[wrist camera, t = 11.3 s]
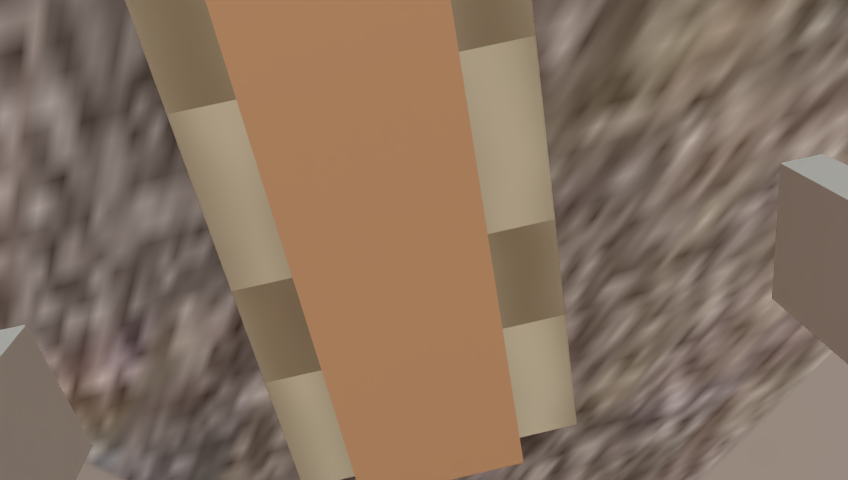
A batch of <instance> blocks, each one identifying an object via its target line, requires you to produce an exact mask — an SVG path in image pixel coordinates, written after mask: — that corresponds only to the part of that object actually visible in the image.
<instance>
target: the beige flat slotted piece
mask: <svg viewBox="0 0 848 480" xmlns="http://www.w3.org/2000/svg"><path fill="white" fill-rule="evenodd" d="M125 2H126V5H127V7H128V10H129V13H130V15H131V18H132V21H133V24H134V26H135V29H136V32H137V35H138V37H139V40H140V43H141V46H142V48H143V51H144V54H145V56H146V59H147V62H148V65H149V67H150V70H151V73H152V76H153V78H154V81H155V84H156V86H157V89H158V92H159V95H160V97H161V100H162V103H163V106H164V108H165V111H166V114H167V116H168V119H169V122H170V125H171V127H172V130H173V133H174V136H175V138H176V141H177V144H178V147H179V149H180V152H181V155H182V157H183V160H184V163H185V166H186V168H187V171H188V174H189V177H190V179H191V182H192V185H193V187H194V190H195V193H196V196H197V198H198V201H199V204H200V207H201V209H202V212H203V215H204V218H205V220H206V223H207V226H208V228H209V231H210V234H211V237H212V239H213V242H214V245H215V248H216V250H217V253H218V256H219V258H220V261H221V264H222V267H223V269H224V272H225V275H226V278H227V280H228V283H229V286H230V289H231V291H232V294H233V297H234V299H235V302H236V305H237V308H238V310H239V313H240V316H241V319H242V321H243V324H244V327H245V329H246V332H247V335H248V338H249V340H250V343H251V346H252V349H253V351H254V354H255V357H256V359H257V362H258V365H259V368H260V370H261V373H262V376H263V379H264V381H265V384H266V387H267V390H268V392H269V395H270V398H271V400H272V403H273V406H274V409H275V411H276V414H277V417H278V420H279V422H280V425H281V428H282V430H283V433H284V436H285V439H286V441H287V444H288V447H289V450H290V452H291V455H292V458H293V461H294V463H295V466H296V469H297V471H298V474H299V477H300V480H341V479H345V478H349V477H354V476H355V475H354V472H353V468H352V465H351V462H350V459H349V456H348V452H347V449H346V446H345V443H344V440H343V437H342V433H341V430H340V427H339V424H338V421H337V418H336V414H335V411H334V408H333V405H332V402H331V398H330V395H329V392H328V389H327V386H326V383H325V379H324V376H323V373H322V370H321V367H320V364H319V360H318V357H317V354H316V351H315V348H314V345H313V341H312V338H311V335H310V332H309V329H308V325H307V322H306V319H305V316H304V313H303V310H302V306H301V303H300V300H299V297H298V294H297V291H296V287H295V284H294V281H293V278H292V275H291V271H290V268H289V265H288V262H287V259H286V256H285V252H284V249H283V246H282V243H281V240H280V237H279V233H278V230H277V227H276V224H275V221H274V218H273V214H272V211H271V208H270V205H269V202H268V198H267V195H266V192H265V189H264V186H263V183H262V179H261V176H260V173H259V170H258V167H257V164H256V160H255V157H254V154H253V151H252V148H251V144H250V141H249V138H248V135H247V132H246V129H245V125H244V122H243V119H242V116H241V113H240V110H239V106H238V103H237V100H236V97H235V94H234V90H233V87H232V84H231V81H230V78H229V75H228V71H227V68H226V65H225V62H224V59H223V56H222V52H221V49H220V46H219V43H218V40H217V37H216V33H215V30H214V27H213V24H212V21H211V17H210V14H209V11H208V8H207V5H206V2H205V0H125ZM451 5H452V11H453V18H454V24H455V30H456V37H457V43H458V50H459V56H460V62H461V69H462V75H463V81H464V88H465V94H466V100H467V107H468V113H469V119H470V126H471V132H472V138H473V145H474V151H475V157H476V164H477V170H478V176H479V183H480V189H481V195H482V202H483V208H484V214H485V221H486V227H487V233H488V240H489V246H490V253H491V259H492V265H493V272H494V278H495V284H496V291H497V297H498V303H499V310H500V316H501V322H502V329H503V335H504V341H505V348H506V354H507V360H508V367H509V373H510V379H511V386H512V392H513V398H514V405H515V411H516V417H517V424H518V430H519V436H520V438H521V437H525V436H529V435H533V434H538V433H542V432H546V431H551V430H555V429H559V428H563V427H568V426H572V425H576V424H577V423H576V413H575V404H574V394H573V385H572V375H571V366H570V357H569V347H568V338H567V328H566V319H565V309H564V300H563V290H562V281H561V271H560V262H559V252H558V243H557V234H556V224H555V215H554V205H553V196H552V186H551V177H550V167H549V158H548V148H547V139H546V129H545V120H544V111H543V101H542V92H541V82H540V73H539V63H538V54H537V44H536V35H535V25H534V16H533V6H532V0H451Z"/></svg>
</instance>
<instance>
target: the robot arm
mask: <svg viewBox="0 0 848 480" xmlns="http://www.w3.org/2000/svg"><path fill="white" fill-rule="evenodd" d="M772 298H773V299H774V300H775V301H776V302H777V303H778V304H779V305H781V306H782V307H783V308H784V309H785V310H786V311H787V312H789V313H790V314H791V315H792V316H793V317H794V318H795V319H797V320H798V321H799V322H800V323H801V324H802V325H804V326H805V327H806V328H807V329H808V330H809V331H810V332H812V333H813V334H814V335H815V336H816V337H817V338H818V339H820V340H821V341H822V342H823V343H824V344H825V345H826V346H828V347H829V348H830V349H831V350H832V351H833V352H834V353H836V354H837V355H838V356H839V357H840V358H841V359H843V360H844V361H845V362H846V363H847V364H848V165H846V164H844V163H842V162H839V161H837V160H835V159H833V158H831V157H829V156H827V155H825V154H821V155H816V156H811V157H807V158H802V159H797V160H793V161H788V162H783V163H780V177H779V194H778V210H777V227H776V243H775V259H774V276H773V292H772ZM91 447H92V445H91V443H90V441H89V439H88V437H87V435H86V434H85V432H84V430H83V428H82V426H81V424H80V422H79V421H78V419H77V417H76V415H75V413H74V411H73V410H72V408H71V406H70V404H69V402H68V400H67V399H66V397H65V395H64V393H63V391H62V389H61V388H60V386H59V384H58V382H57V380H56V378H55V376H54V375H53V373H52V371H51V369H50V367H49V365H48V364H47V362H46V360H45V358H44V356H43V354H42V353H41V351H40V349H39V347H38V345H37V343H36V342H35V340H34V338H33V336H32V334H31V332H30V331H29V329H28V327H27V325H22V326H17V327H12V328H8V329H3V330H0V480H76V478H77V476H78V474H79V472H80V470H81V467H82V465H83V463H84V461H85V459H86V457H87V455H88V453H89V451H90V449H91Z"/></svg>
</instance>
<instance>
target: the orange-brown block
mask: <svg viewBox="0 0 848 480" xmlns="http://www.w3.org/2000/svg"><path fill="white" fill-rule="evenodd" d="M205 2H206V5H207V8H208V11H209V14H210V17H211V21H212V24H213V27H214V30H215V33H216V37H217V40H218V43H219V46H220V49H221V52H222V56H223V59H224V62H225V65H226V68H227V71H228V75H229V78H230V81H231V84H232V87H233V90H234V94H235V97H236V100H237V103H238V106H239V110H240V113H241V116H242V119H243V122H244V125H245V129H246V132H247V135H248V138H249V141H250V144H251V148H252V151H253V154H254V157H255V160H256V164H257V167H258V170H259V173H260V176H261V179H262V183H263V186H264V189H265V192H266V195H267V198H268V202H269V205H270V208H271V211H272V214H273V218H274V221H275V224H276V227H277V230H278V233H279V237H280V240H281V243H282V246H283V249H284V252H285V256H286V259H287V262H288V265H289V268H290V271H291V275H292V278H293V281H294V284H295V287H296V291H297V294H298V297H299V300H300V303H301V306H302V310H303V313H304V316H305V319H306V322H307V325H308V329H309V332H310V335H311V338H312V341H313V345H314V348H315V351H316V354H317V357H318V360H319V364H320V367H321V370H322V373H323V376H324V379H325V383H326V386H327V389H328V392H329V395H330V398H331V402H332V405H333V408H334V411H335V414H336V418H337V421H338V424H339V427H340V430H341V433H342V437H343V440H344V443H345V446H346V449H347V452H348V456H349V459H350V462H351V465H352V468H353V472H354V475H355V478H356V480H452V479H456V478H460V477H465V476H469V475H473V474H478V473H482V472H486V471H490V470H495V469H499V468H503V467H507V466H512V465H516V464H520V463H524V462H523V456H522V449H521V443H520V436H519V430H518V424H517V417H516V411H515V405H514V398H513V392H512V386H511V379H510V373H509V367H508V360H507V354H506V348H505V341H504V335H503V329H502V322H501V316H500V310H499V303H498V297H497V291H496V284H495V278H494V272H493V265H492V259H491V253H490V246H489V240H488V233H487V227H486V221H485V214H484V208H483V202H482V195H481V189H480V183H479V176H478V170H477V164H476V157H475V151H474V145H473V138H472V132H471V126H470V119H469V113H468V107H467V100H466V94H465V88H464V81H463V75H462V69H461V62H460V56H459V50H458V43H457V37H456V30H455V24H454V18H453V11H452V5H451V0H205Z"/></svg>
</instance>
